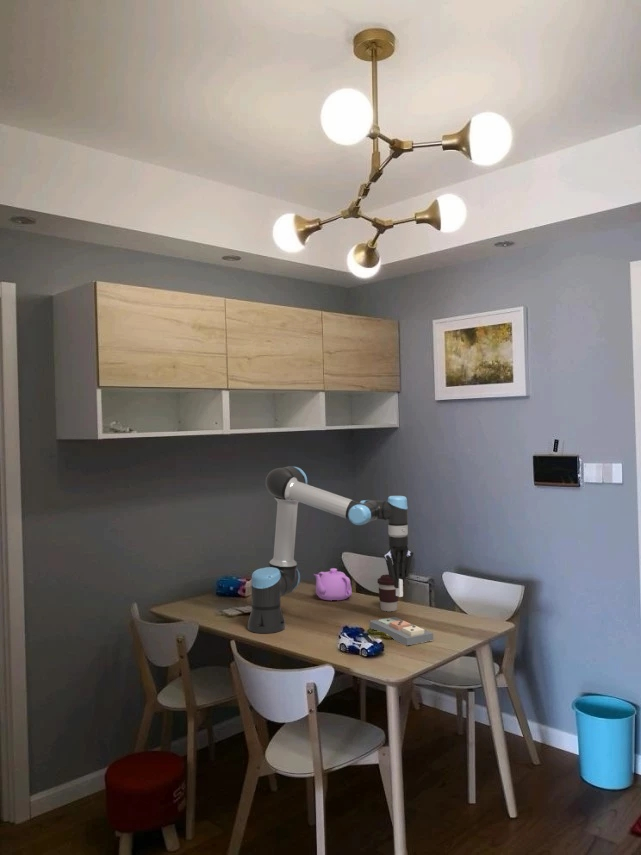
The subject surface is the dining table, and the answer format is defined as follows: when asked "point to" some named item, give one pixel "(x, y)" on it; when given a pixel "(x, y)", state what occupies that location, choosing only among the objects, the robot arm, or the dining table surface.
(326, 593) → the teapot
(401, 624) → the tile three
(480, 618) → the dining table surface
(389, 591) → the coffee cup
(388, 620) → the tile one
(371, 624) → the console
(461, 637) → the dining table surface
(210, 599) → the dining table surface
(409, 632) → the tile two
